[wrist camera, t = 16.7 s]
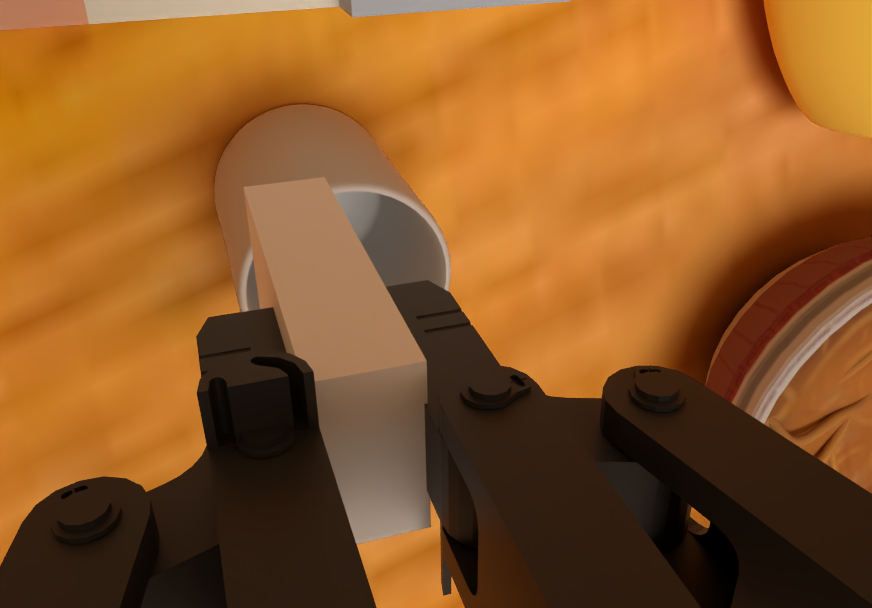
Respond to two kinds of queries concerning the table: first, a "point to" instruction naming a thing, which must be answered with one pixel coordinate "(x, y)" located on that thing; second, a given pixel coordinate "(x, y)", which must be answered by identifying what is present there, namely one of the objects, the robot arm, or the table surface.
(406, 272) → the mug
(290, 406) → the robot arm
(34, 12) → the deck
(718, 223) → the table surface
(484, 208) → the table surface
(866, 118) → the teapot
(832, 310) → the bowl
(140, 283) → the table surface
